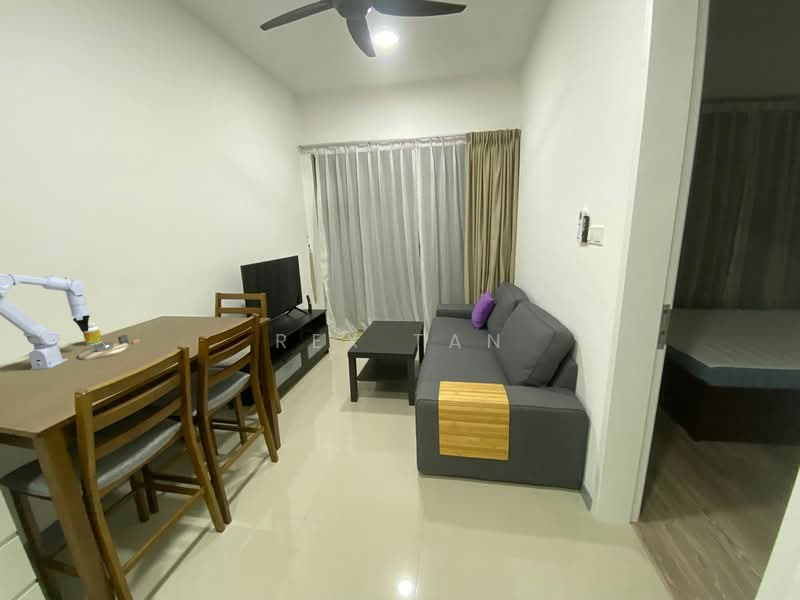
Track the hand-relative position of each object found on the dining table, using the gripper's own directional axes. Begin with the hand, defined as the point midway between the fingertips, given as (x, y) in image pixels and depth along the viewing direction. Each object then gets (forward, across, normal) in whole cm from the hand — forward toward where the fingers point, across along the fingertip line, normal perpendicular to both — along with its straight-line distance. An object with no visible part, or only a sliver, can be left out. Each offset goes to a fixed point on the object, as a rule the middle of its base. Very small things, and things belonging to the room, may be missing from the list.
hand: (85, 331), depth 157 cm
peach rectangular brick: (+10, -1, -18) cm, 21 cm away
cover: (+9, -8, -6) cm, 13 cm away
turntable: (+10, -8, -6) cm, 14 cm away
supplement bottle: (+11, +13, -1) cm, 17 cm away
